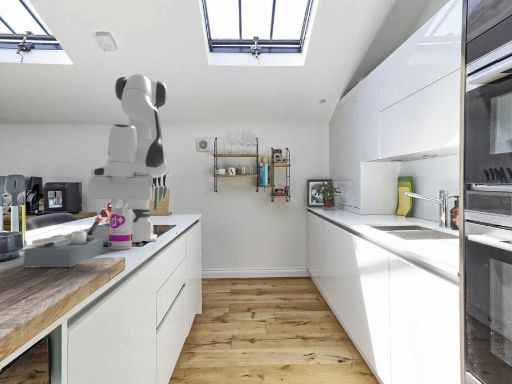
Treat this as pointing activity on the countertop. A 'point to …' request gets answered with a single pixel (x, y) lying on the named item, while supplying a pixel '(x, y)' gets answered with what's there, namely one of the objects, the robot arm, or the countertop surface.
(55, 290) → the countertop surface
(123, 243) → the supplement can
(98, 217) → the lever
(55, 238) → the rocker
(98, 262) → the countertop surface
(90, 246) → the console
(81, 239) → the button
